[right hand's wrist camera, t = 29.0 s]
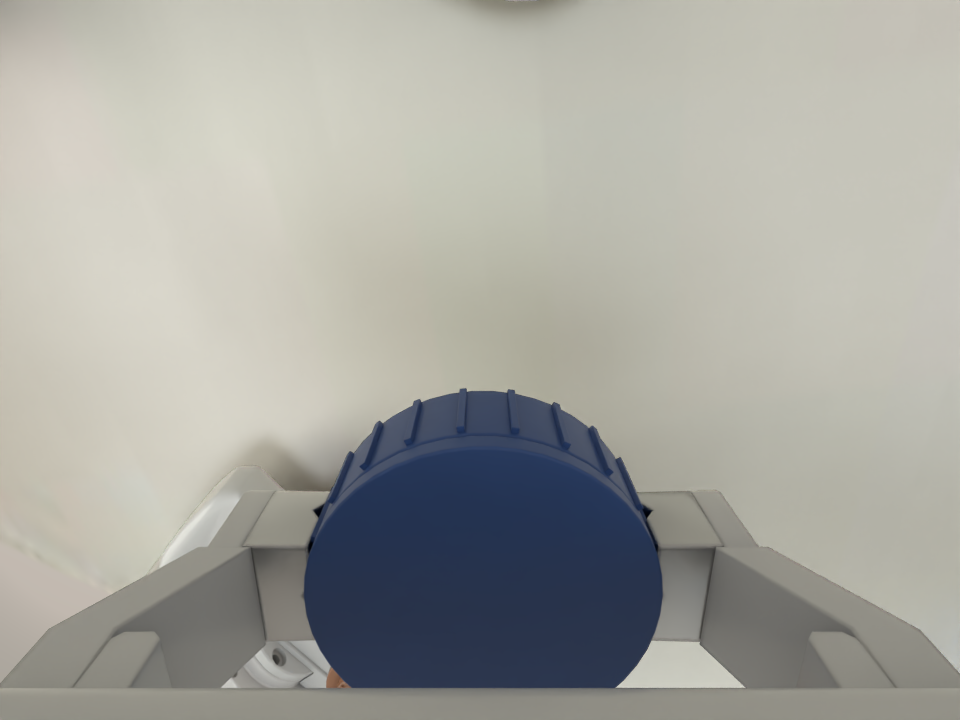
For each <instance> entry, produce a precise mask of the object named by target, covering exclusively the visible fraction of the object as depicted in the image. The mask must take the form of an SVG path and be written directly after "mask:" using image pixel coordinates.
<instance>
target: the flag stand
mask: <svg viewBox="0 0 960 720" xmlns="http://www.w3.org/2000/svg"><path fill="white" fill-rule="evenodd" d="M506 1H537V0H506Z"/></svg>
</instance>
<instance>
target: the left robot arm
mask: <svg viewBox="0 0 960 720" xmlns="http://www.w3.org/2000/svg"><path fill="white" fill-rule="evenodd" d="M250 490H276V491H279V490H281V491H285V490H284V489H283V488H282V487H281V486H280V485H279V484H278V483H277V482H276V481H275V480H274V479H273V478H272V477H270V476H269V475H268V474H267V473H266V472H265V471H264V470H263V469H262V468H261V467H259V466H238V467H236V468H235V469H233V470H232V471H231V472H230V473H228V474H227V475H226V476H225V477H224V478H223V479H222V480H221V481H220V482H219V483H218V484H217V485H216V486H215V487H214V488H213V489H212V490H211V491H210V492H209V494H208V495H207V496H206V497H205V498H204V499H203V501H202V502H201V503H200V504H199V505H198V507H197V508H196V509H195V510H194V511H193V513H192V514H191V515H190V516H189V518H188V519H187V520H186V521H185V523H184V524H183V525H182V527H181V528H180V529H179V531H178V532H177V533H176V535H175V536H174V537H173V539H172V540H171V541H170V543H169V544H168V545H167V547H166V548H165V550H164V552H163V554H162V555H161V556H160V557H159V559H158V560H157V561H156V562H155V564H154V565H153V566H152V568H151V569H150V570H149V572H148V573H147V575H148V574H150V573H152V572H154V571H155V570H157V569H159V568H161V567H163V566H165V565H166V564H168V563H170V562H172V561H174V560H176V559H177V558H179V557H181V556H183V555H185V554H186V553H188V552H190V551H192V550H194V549H196V548H197V547H208V545H209V544H210V542H211V541H212V539H213V538H214V536H215V535H216V533H217V532H218V531H219V529H220V528H221V526H222V525H223V523H224V522H225V520H226V519H227V517H228V516H229V514H230V513H231V511H232V510H233V509H234V507H235V506H236V504H237V503H238V501H239V500H240V498H241V497H242V495H243V494H244V493H245V492H247V491H250ZM329 668H330V665H329V663H328V662H327V660H326V659H325V657H324V656H323V654H322V653H321V651H320V649H319V647H318V645H317V643H316V641H315V640H311V641H276V642H266V645H265V646H264V647H263V648H262V649H261V650H260V651H259V652H258V653H257V654H256V655H255V656H254V657H252V658H251V659H250V660H249V661H248V662H247V663H246V664H245V665H244V666H243V667H242V668H241V669H240V670H239V671H238V672H237V673H236V674H235V675H233V676H232V677H231V678H230V679H229V680H228V681H227V682H226V683H225V684H224V685H223V686H222V687H221V688H326V679H327V675H328V672H329Z"/></svg>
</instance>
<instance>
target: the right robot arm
mask: <svg viewBox="0 0 960 720" xmlns="http://www.w3.org/2000/svg"><path fill="white" fill-rule="evenodd" d="M329 493H330V491H281V490H279V491H276V490H250V491H247V492H245V493H244V494H243V495H242V497H241V498H240V500H239V501H238V503H237V504H236V506H235V507H234V509H233V510H232V511H231V513H230V514H229V516H228V517H227V519H226V520H225V522H224V523H223V525H222V526H221V528H220V529H219V531H218V532H217V533H216V535H215V536H214V538H213V539H212V541H211V542H210V544H209V545H208V547H197V548H196V549H194V550H192V551H190V552H188V553H186V554H185V555H183V556H181V557H179V558H177V559H176V560H174V561H172V562H170V563H168V564H166V565H165V566H163V567H161V568H159V569H157V570H155V571H154V572H152V573H150V574H148V575H146V576H145V577H143V578H141V579H139V580H137V581H135V582H134V583H132V584H130V585H128V586H126V587H124V588H123V589H121V590H119V591H117V592H115V593H114V594H112V595H110V596H108V597H106V598H104V599H103V600H101V601H99V602H97V603H95V604H94V605H92V606H90V607H88V608H86V609H84V610H83V611H81V612H79V613H77V614H75V615H73V616H72V617H70V618H68V619H66V620H64V621H62V622H61V623H59V624H57V625H55V626H53V627H52V628H50V629H48V630H47V632H46V633H45V634H44V635H43V636H42V637H41V638H40V639H39V641H38V642H37V643H36V644H35V645H34V646H33V647H32V648H31V649H30V651H29V652H28V653H27V654H26V655H25V656H24V657H23V659H22V660H21V661H20V662H19V663H18V664H17V665H16V666H15V668H14V669H13V670H12V671H11V672H10V673H9V674H8V675H7V676H6V678H5V679H4V680H3V681H2V682H1V683H0V720H960V674H959V672H958V671H957V670H956V669H955V668H954V667H953V666H952V665H951V664H950V662H949V661H948V660H947V659H946V658H945V657H944V656H943V655H942V654H941V652H940V651H939V650H938V649H937V648H936V647H935V646H934V645H933V644H932V642H931V641H930V640H929V639H928V638H927V637H926V636H925V635H924V634H923V633H922V631H921V630H919V629H918V628H916V627H914V626H912V625H910V624H908V623H907V622H905V621H903V620H901V619H899V618H897V617H896V616H894V615H892V614H890V613H888V612H886V611H884V610H883V609H881V608H879V607H877V606H875V605H873V604H872V603H870V602H868V601H866V600H864V599H862V598H861V597H859V596H857V595H855V594H853V593H851V592H850V591H848V590H846V589H844V588H842V587H840V586H839V585H837V584H835V583H833V582H831V581H829V580H828V579H826V578H824V577H822V576H820V575H818V574H817V573H815V572H813V571H811V570H809V569H807V568H806V567H804V566H802V565H800V564H798V563H796V562H795V561H793V560H791V559H789V558H787V557H785V556H784V555H782V554H780V553H778V552H776V551H774V550H773V549H771V548H769V547H759V546H758V545H757V544H756V542H755V541H754V539H753V538H752V536H751V535H750V534H749V532H748V531H747V529H746V528H745V526H744V525H743V524H742V522H741V521H740V519H739V518H738V517H737V515H736V514H735V512H734V511H733V509H732V508H731V507H730V505H729V504H728V502H727V501H726V500H725V498H724V497H723V495H722V494H721V493H720V492H719V491H717V490H698V491H672V492H637V494H638V497H639V499H640V501H641V503H642V506H643V509H642V510H643V512H644V514H645V516H646V525H647V527H648V529H649V531H650V534H651V536H652V538H653V540H654V543H655V549H656V552H657V554H658V557H659V562H660V567H661V572H662V582H663V598H662V606H661V614H660V618H659V621H658V624H657V628H656V631H655V634H654V636H653V638H652V640H654V641H689V642H700V645H701V646H702V647H703V648H704V649H705V650H706V651H707V652H708V653H710V654H711V655H712V656H713V657H714V658H715V659H716V660H717V661H718V662H719V663H720V664H721V665H722V666H723V667H724V668H726V669H727V670H728V671H729V672H730V673H731V674H732V675H733V676H734V677H735V678H736V679H737V680H738V681H739V682H740V683H741V684H743V685H744V686H745V687H746V688H221V687H222V686H223V685H224V684H225V683H226V682H227V681H228V680H229V679H230V678H231V677H232V676H233V675H235V674H236V673H237V672H238V671H239V670H240V669H241V668H242V667H243V666H244V665H245V664H246V663H247V662H248V661H249V660H250V659H251V658H252V657H254V656H255V655H256V654H257V653H258V652H259V651H260V650H261V649H262V648H263V647H264V646H265V645H266V642H276V641H311V640H315V639H314V637H313V635H312V632H311V629H310V626H309V622H308V619H307V616H306V609H305V601H304V575H305V570H306V565H307V560H308V556H309V553H310V551H311V548H312V545H313V542H311V539H310V538H311V535H312V532H313V530H314V528H315V526H316V523H317V521H318V519H319V516H320V514H321V512H322V509H323V507H324V505H325V502H326V500H327V498H328V496H329Z"/></svg>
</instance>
